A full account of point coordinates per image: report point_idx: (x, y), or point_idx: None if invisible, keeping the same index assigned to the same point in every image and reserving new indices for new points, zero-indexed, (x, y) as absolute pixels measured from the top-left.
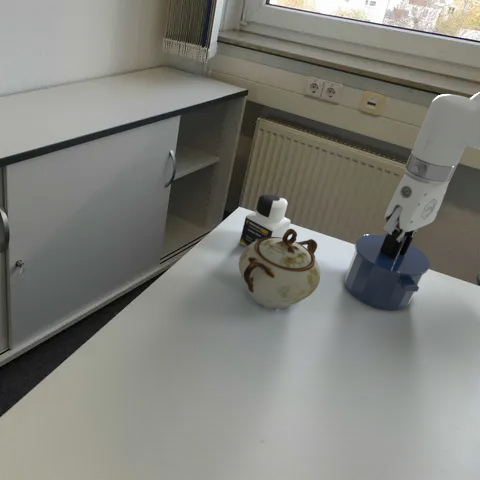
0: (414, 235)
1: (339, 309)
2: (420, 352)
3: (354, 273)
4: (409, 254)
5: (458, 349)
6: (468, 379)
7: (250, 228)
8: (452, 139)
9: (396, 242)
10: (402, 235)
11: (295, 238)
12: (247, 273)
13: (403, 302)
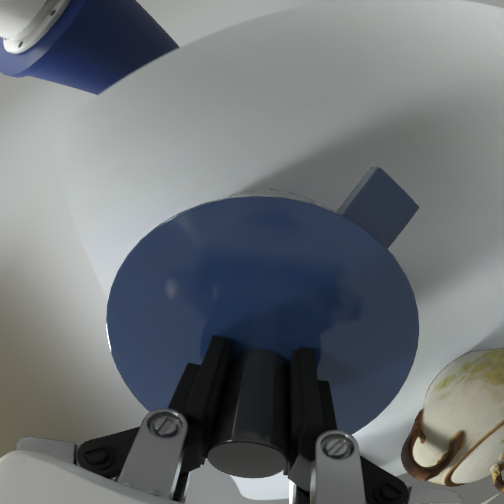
0: (158, 410)
1: (424, 296)
2: (417, 91)
3: None
4: (188, 320)
5: (321, 29)
6: (396, 2)
7: None
8: None
9: (322, 429)
10: (339, 472)
11: (498, 476)
12: None
13: (301, 198)
